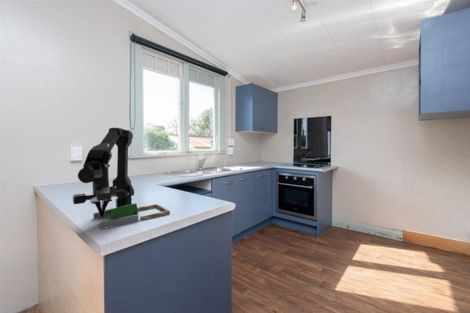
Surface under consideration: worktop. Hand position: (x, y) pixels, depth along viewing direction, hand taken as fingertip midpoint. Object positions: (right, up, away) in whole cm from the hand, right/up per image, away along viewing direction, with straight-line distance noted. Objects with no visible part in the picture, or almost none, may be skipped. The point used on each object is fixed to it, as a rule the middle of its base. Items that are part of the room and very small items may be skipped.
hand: (101, 216), depth 93 cm
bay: (+15, -2, +13) cm, 20 cm away
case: (+4, -2, +4) cm, 6 cm away
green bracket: (+6, -2, +5) cm, 8 cm away
